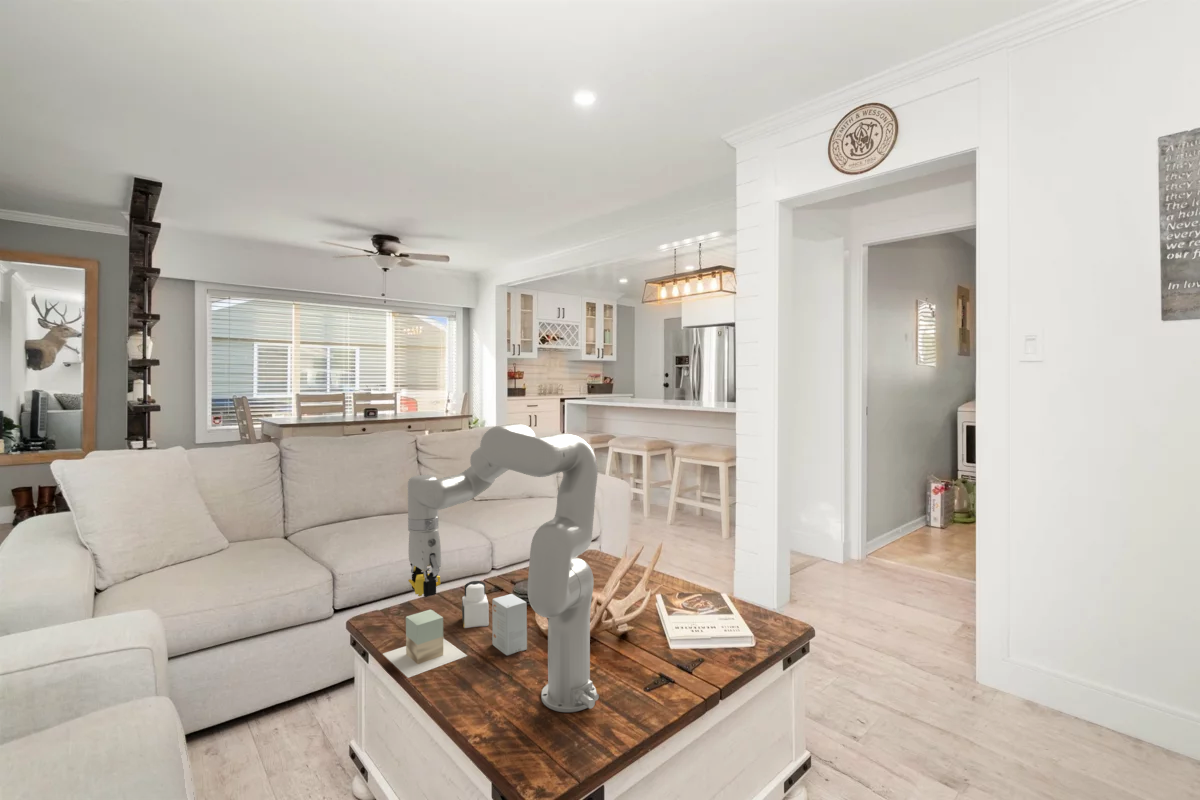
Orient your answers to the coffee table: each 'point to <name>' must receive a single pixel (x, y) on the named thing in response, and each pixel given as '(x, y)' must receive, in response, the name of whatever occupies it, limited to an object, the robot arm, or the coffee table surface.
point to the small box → (509, 624)
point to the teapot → (420, 584)
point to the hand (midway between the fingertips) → (423, 591)
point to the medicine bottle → (475, 605)
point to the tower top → (424, 626)
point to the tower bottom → (424, 650)
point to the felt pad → (413, 668)
